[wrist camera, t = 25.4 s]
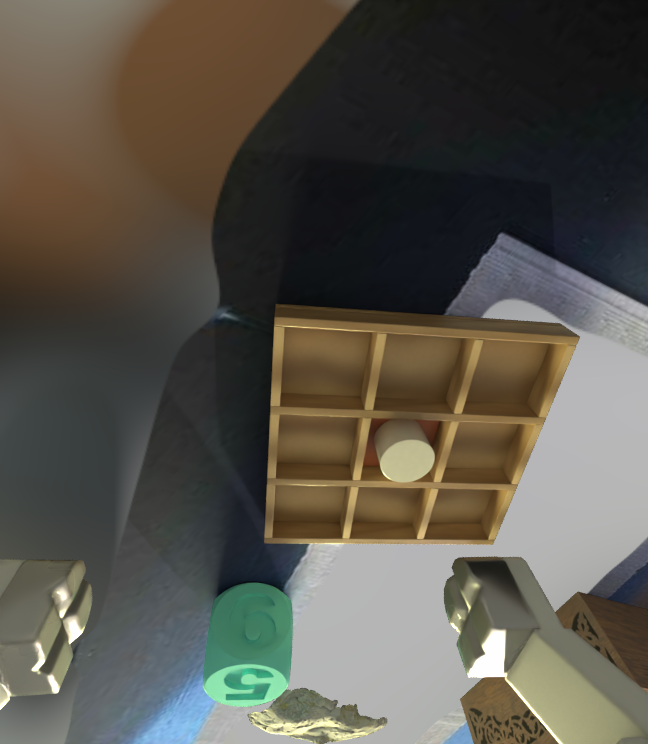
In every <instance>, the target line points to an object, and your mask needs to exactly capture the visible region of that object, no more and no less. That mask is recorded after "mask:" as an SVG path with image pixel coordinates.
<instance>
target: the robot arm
mask: <svg viewBox="0 0 648 744" xmlns="http://www.w3.org/2000/svg"><path fill="white" fill-rule="evenodd" d="M452 569H453V572H454V575H453V576H452V577H450V578H449V579H447V581H446V585H445V588H444V604H445V609H446V613H447V616H448V620H449V623H450V624H451V625H452V626H453V627H454V628H455V629H456V630H457V631H458V632H459V633H460V634H459V637H458V641H457V647H458V650H459V653H460V656H461V658H462V661H463V665H464V667H465V670H466V673H467V676H468V677H506V678H505V680H506V681H507V682H508V683H509V684H510V686H511V687H512V688H513V689H514V690H515V692H516V693H517V694H518V695H519V696H520V697H521V699H522V700H523V701H524V702H525V703H526V705H527V706H528V707H529V708H530V709H531V711H532V712H533V713H534V714H535V715H536V716H537V718H538V719H539V720H540V721H541V722H542V724H543V725H544V726H545V727H546V728H547V730H548V731H549V732H550V733H551V734H552V735H553V737H554V738H555V739H556V740H557V741H558V743H559V744H648V693H647V692H646V691H645V690H644V689H642V688H641V687H640V686H639V685H638V684H636V683H635V682H634V681H633V680H632V679H630V678H629V677H628V676H627V675H626V674H624V673H623V672H622V671H621V670H620V669H618V668H617V667H616V666H615V665H614V664H612V663H611V662H610V661H609V660H608V659H606V658H605V657H604V656H603V655H602V654H600V653H599V652H598V651H597V650H596V649H594V648H593V647H592V646H591V645H590V644H588V643H587V642H586V641H585V640H584V639H582V638H581V637H580V636H579V635H578V634H576V633H575V632H574V631H573V630H572V629H564V627H563V626H562V624H561V622H560V620H559V619H558V617H557V615H556V613H555V612H554V610H553V608H552V606H551V604H550V603H549V601H548V599H547V597H546V596H545V594H544V592H543V590H542V589H541V587H540V585H539V583H538V582H537V580H536V579H535V576H534V575H533V573H532V571H531V570H530V568H529V566H528V564H527V562H526V561H525V560H524V559H522V558H521V557H465V558H464V557H463V558H457V559H456V560H455V561H454V563H453V566H452ZM85 572H86V568H85V565H84V563H83V560H0V709H1V708H2V707H3V706H4V705H5V704H6V703H7V702H8V701H9V699H10V698H9V696H22V695H37V694H52V693H58V691H59V689H60V686H61V684H62V681H63V679H64V677H65V674H66V672H67V669H68V667H69V665H70V662H71V660H72V657H73V653H72V649H71V646H70V643H71V642H73V641H74V640H75V639H76V638H77V637H78V636H79V635H80V634H81V633H82V632H83V630H84V628H85V625H86V623H87V620H88V617H89V613H90V608H91V604H92V589H91V586H90V583H88V582H87V581H85V580H84V579H83V576H84V574H85Z"/></svg>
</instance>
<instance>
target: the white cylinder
mask: <svg viewBox="0 0 648 744" xmlns="http://www.w3.org/2000/svg"><path fill="white" fill-rule="evenodd" d="M374 447H375V451H376V454H377V458H378V461H379V465H380V468H381V471H382V473H383V474H384V475H385V476H386V477H387V478H389V479H390V480H392V481H396V482H411V481H415V480H417V479H420V478H421V477H423V476H424V475H426V474H427V473H428V472H429V471H430V469H431V468H432V466H433V464H434V461H435V454H434V451H433V449H432V446H431V444H430V442H429V440H428V438H427V436H426V434H425V432H424V430H423V428H422V426H421V425H420V424H419V423H418V422H417V421H415V420H413V419H391V420H389V421H387V422H385V423H384V424H382V425H381V426H380V427H379V428H378V430H377V431H376V433H375V436H374Z"/></svg>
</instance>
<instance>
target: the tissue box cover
mask: <svg viewBox="0 0 648 744" xmlns="http://www.w3.org/2000/svg"><path fill="white" fill-rule="evenodd" d="M555 613H556V615H557V617H558V619H559V620H560V622H561V624H562V626H563V627H564V629H572V630H573V631H574V632H575V633H576V634H578V635H579V636H580V637H581V638H582V639H584V640H585V641H586V642H587V643H588V644H590V645H591V646H592V647H593V648H594V649H596V650H597V651H598V652H599V653H600V654H602V655H603V656H604V657H605V658H606V659H608V660H609V661H610V662H611V663H612V664H614V665H615V666H616V667H617V668H618V669H620V670H621V671H622V672H623V673H624V674H626V675H627V676H628V677H629V678H630V679H632V680H633V681H634V682H635V683H636V684H638V685H639V686H640V687H641V688H642V689H644V690H645V691H646V692H647V693H648V610H647V609H643V608H639V607H635V606H631V605H627V604H624V603H620V602H616V601H612V600H608V599H604V598H600V597H596V596H593V595H589V594H585V593H581V592H577V593H576V594H575V595H574V596H572V597H571V598H570V599H569V600H568V601H567V602H566V603H565V604H564V605H563V606H561V607H560V608H559V609H558V610H557V611H556V612H555ZM505 678H506V677H484V678H483V679H481V680H480V681H479V682H478V683H477V684H476V685H475V686H474V687H473V688H472V689H471V690H469V691H468V692H467V693H466V694H465V695H464V696H463V697H462V698H461V699H460V700H461V703H462V707H463V710H464V713H465V717H466V720H467V723H468V726H469V730H470V733H471V736H472V739H473V743H474V744H559V743H558V741H557V740H556V739H555V738H554V737H553V735H552V734H551V733H550V732H549V731H548V730H547V728H546V727H545V726H544V725H543V724H542V722H541V721H540V720H539V719H538V718H537V716H536V715H535V714H534V713H533V712H532V711H531V709H530V708H529V707H528V706H527V705H526V703H525V702H524V701H523V700H522V699H521V697H520V696H519V695H518V694H517V693H516V692H515V690H514V689H513V688H512V687H511V686H510V684H509V683H508V682H507V681H506V680H505Z"/></svg>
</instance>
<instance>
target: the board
mask: <svg viewBox="0 0 648 744" xmlns="http://www.w3.org/2000/svg"><path fill="white" fill-rule="evenodd" d="M579 338H580V337H579V336H578V335H577V334H575V333H573V332H572V331H571V330H569V329H568V328H566V327H565V326H563V325H562V324H560V323H546V322H532V321H531V322H530V321H518V320H503V319H489V318H475V317H460V316H446V315H431V314H417V313H403V312H388V311H374V310H359V309H345V308H331V307H316V306H302V305H287V304H276V305H275V318H274V340H273V362H272V383H271V406H270V427H269V449H268V471H267V493H266V515H265V537H264V543H322V544H486V545H487V544H490V545H492V544H493V543H494V541H495V539H496V536H497V534H498V531H499V529H500V527H501V524H502V522H503V519H504V517H505V514H506V512H507V510H508V508H509V505H510V503H511V500H512V498H513V496H514V493H515V491H516V489H517V486H518V484H519V481H520V479H521V476H522V474H523V472H524V469H525V467H526V465H527V462H528V460H529V457H530V455H531V453H532V450H533V448H534V446H535V443H536V441H537V438H538V436H539V433H540V431H541V429H542V427H543V424H544V422H545V420H546V416H547V415H548V412H549V410H550V407H551V405H552V403H553V400H554V398H555V395H556V393H557V391H558V388H559V386H560V384H561V381H562V379H563V376H564V374H565V371H566V369H567V367H568V364H569V362H570V360H571V357H572V355H573V352H574V350H575V348H576V345H577V343H578V341H579ZM391 419H413V420H415V421H417V422H418V423H419V424H420V425H421V426H422V428H423V430H424V432H425V434H426V436H427V438H428V440H429V442H430V444H431V446H432V449H433V451H434V454H435V461H434V464H433V466H432V468H431V469H430V471H429V472H428V473H427V474H426V475H424V476H423V477H421V478H420V479H417V480H415V481H411V482H396V481H392V480H390V479H389V478H387V477H386V476H385V475H384V474H383V473H382V471H381V468H380V465H379V461H378V458H377V454H376V451H375V447H374V436H375V433H376V431H377V430H378V428H379V427H380V426H381V425H382V424H384V423H385V422H387V421H389V420H391Z"/></svg>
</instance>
